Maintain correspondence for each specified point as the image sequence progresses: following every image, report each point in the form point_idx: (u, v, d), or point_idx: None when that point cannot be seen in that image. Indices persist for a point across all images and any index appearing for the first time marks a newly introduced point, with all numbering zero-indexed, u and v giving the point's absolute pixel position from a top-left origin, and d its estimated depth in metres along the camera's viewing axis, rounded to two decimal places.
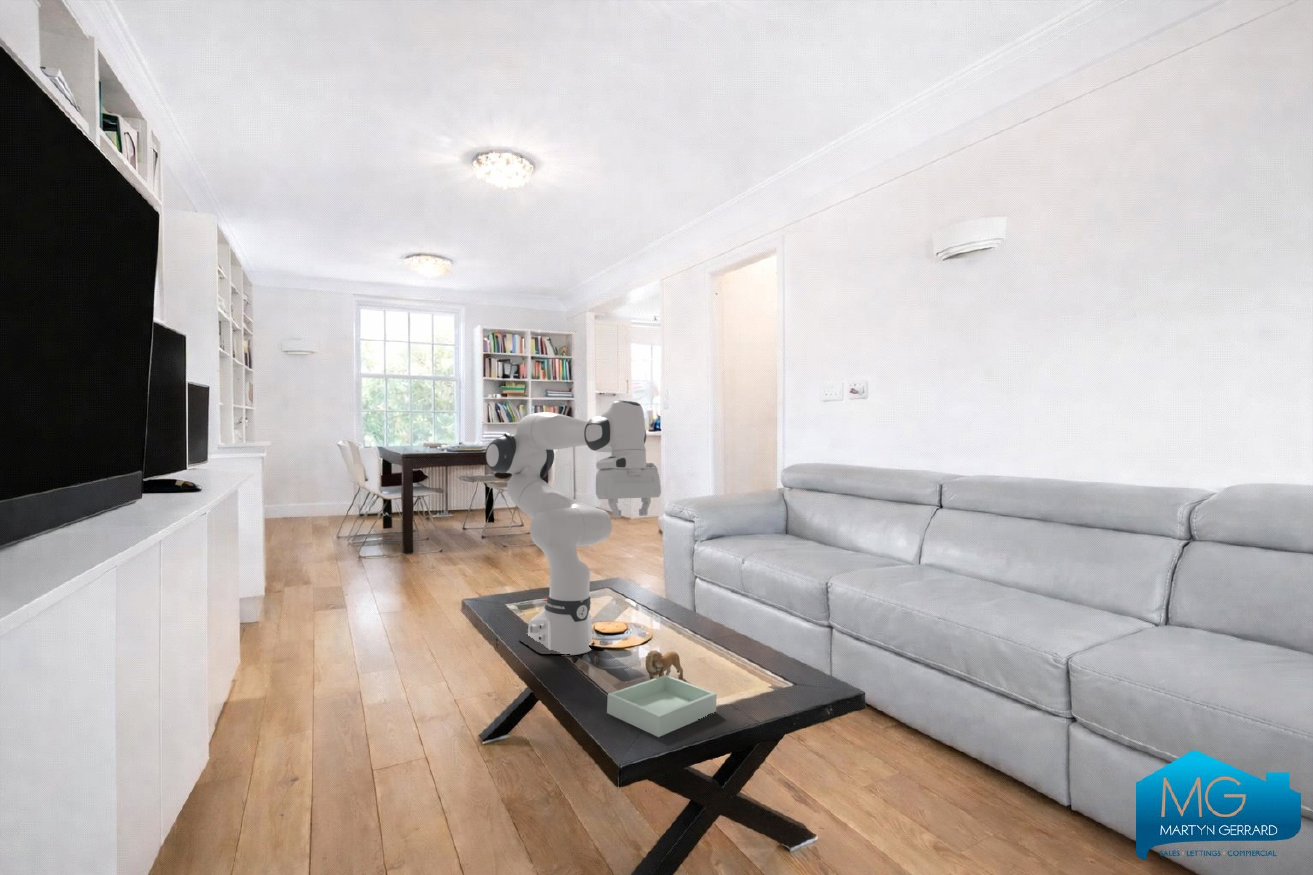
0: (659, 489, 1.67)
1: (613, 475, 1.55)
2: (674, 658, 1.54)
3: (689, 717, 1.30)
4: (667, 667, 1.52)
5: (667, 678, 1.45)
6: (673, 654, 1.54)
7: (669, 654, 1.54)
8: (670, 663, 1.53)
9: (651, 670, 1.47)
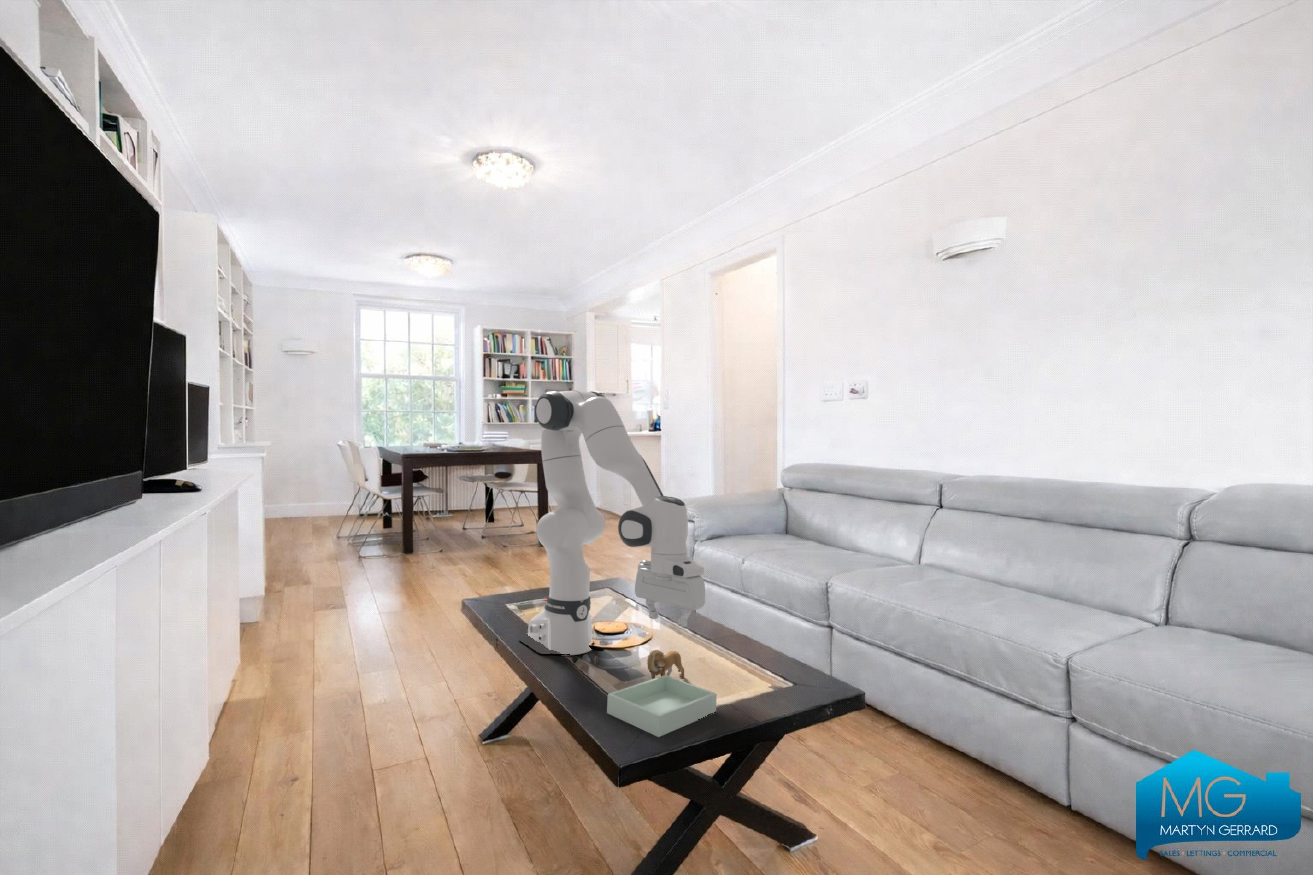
0: None
1: None
2: (676, 657, 1.54)
3: (689, 717, 1.30)
4: (669, 666, 1.53)
5: (667, 678, 1.45)
6: (674, 653, 1.55)
7: (670, 653, 1.55)
8: (672, 662, 1.53)
9: (653, 669, 1.47)
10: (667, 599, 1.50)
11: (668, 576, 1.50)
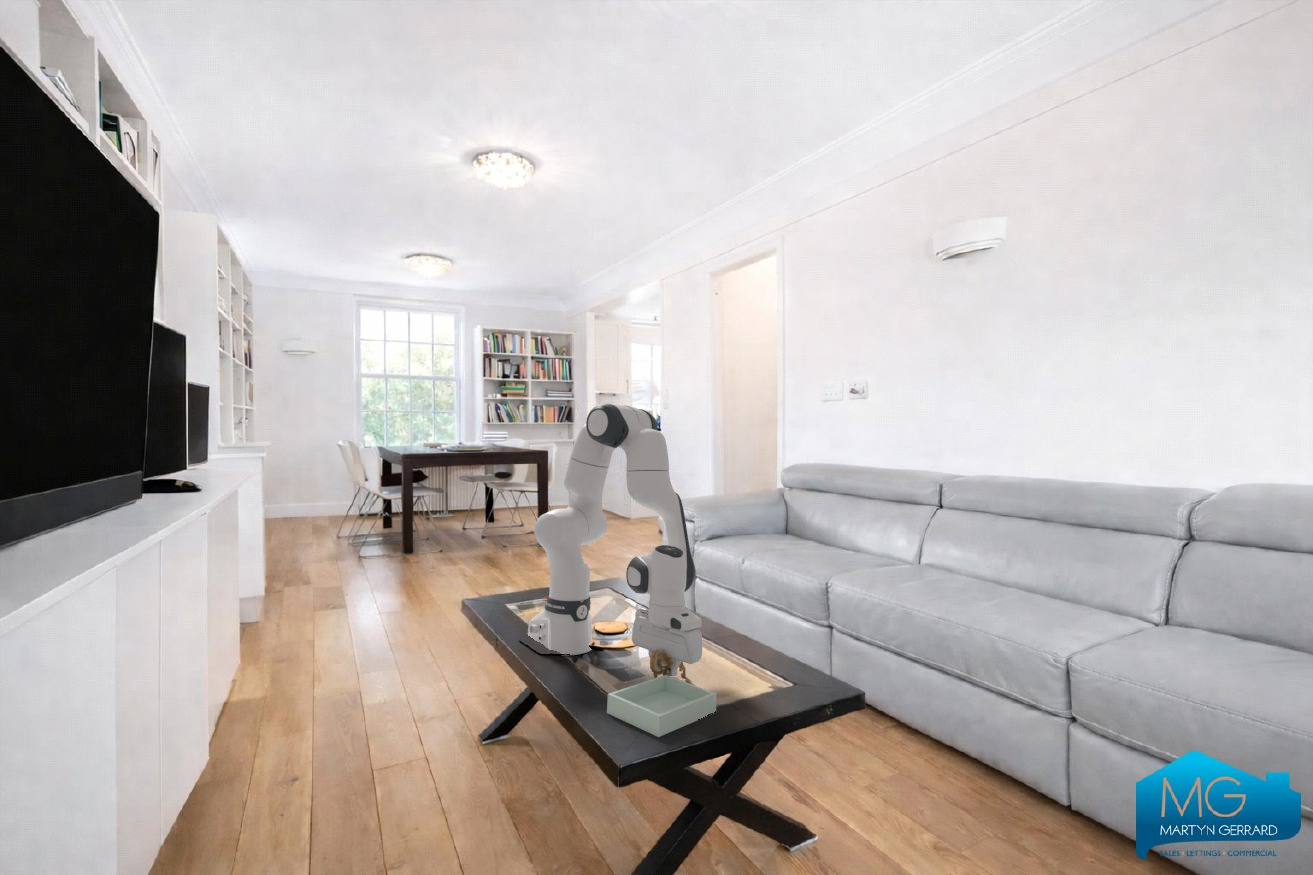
0: None
1: None
2: None
3: (689, 717, 1.30)
4: (671, 666, 1.53)
5: (667, 678, 1.45)
6: None
7: None
8: None
9: (656, 669, 1.48)
10: (664, 650, 1.50)
11: (665, 628, 1.49)
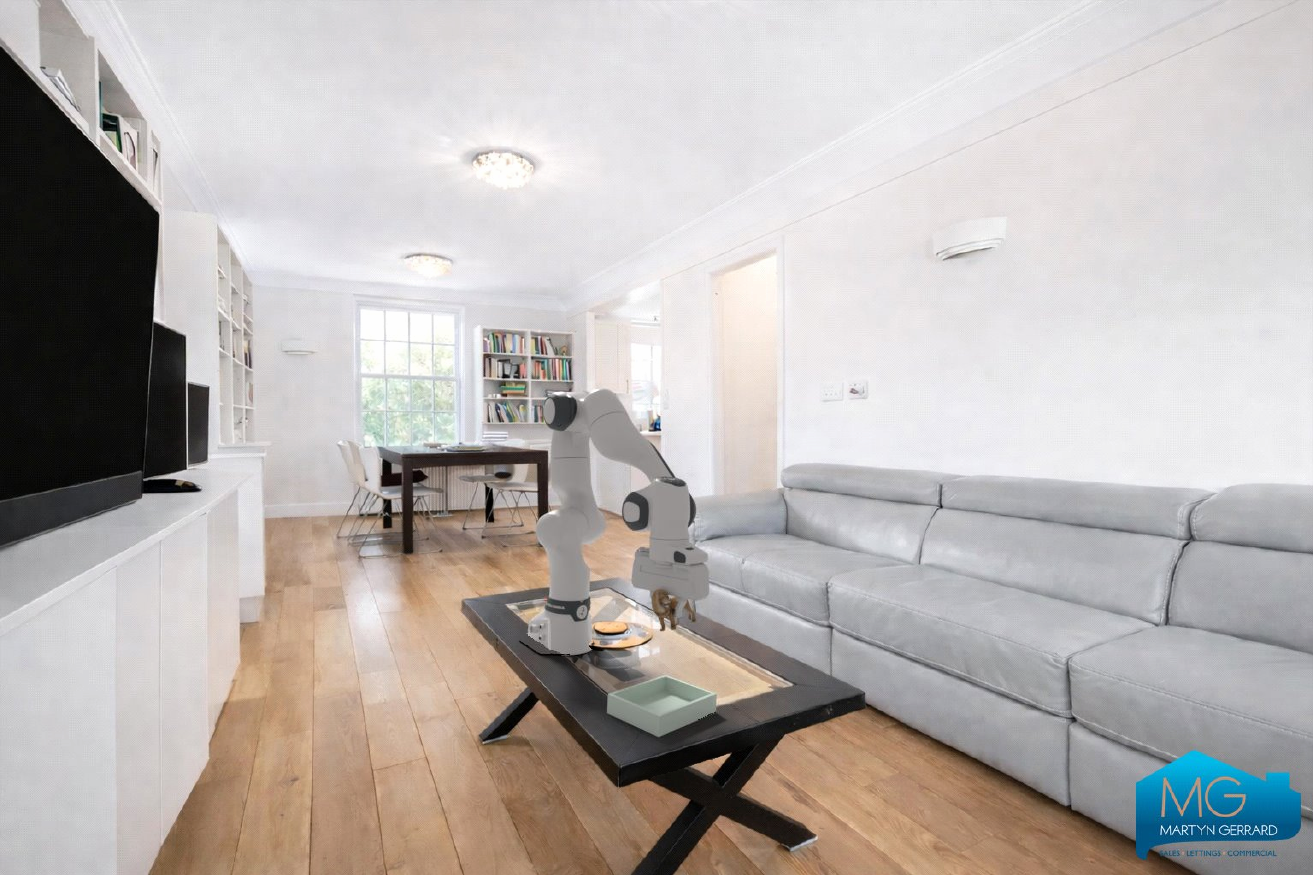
0: None
1: None
2: None
3: (689, 717, 1.30)
4: None
5: (667, 678, 1.45)
6: None
7: None
8: None
9: (659, 609, 1.34)
10: (667, 589, 1.37)
11: (668, 564, 1.36)
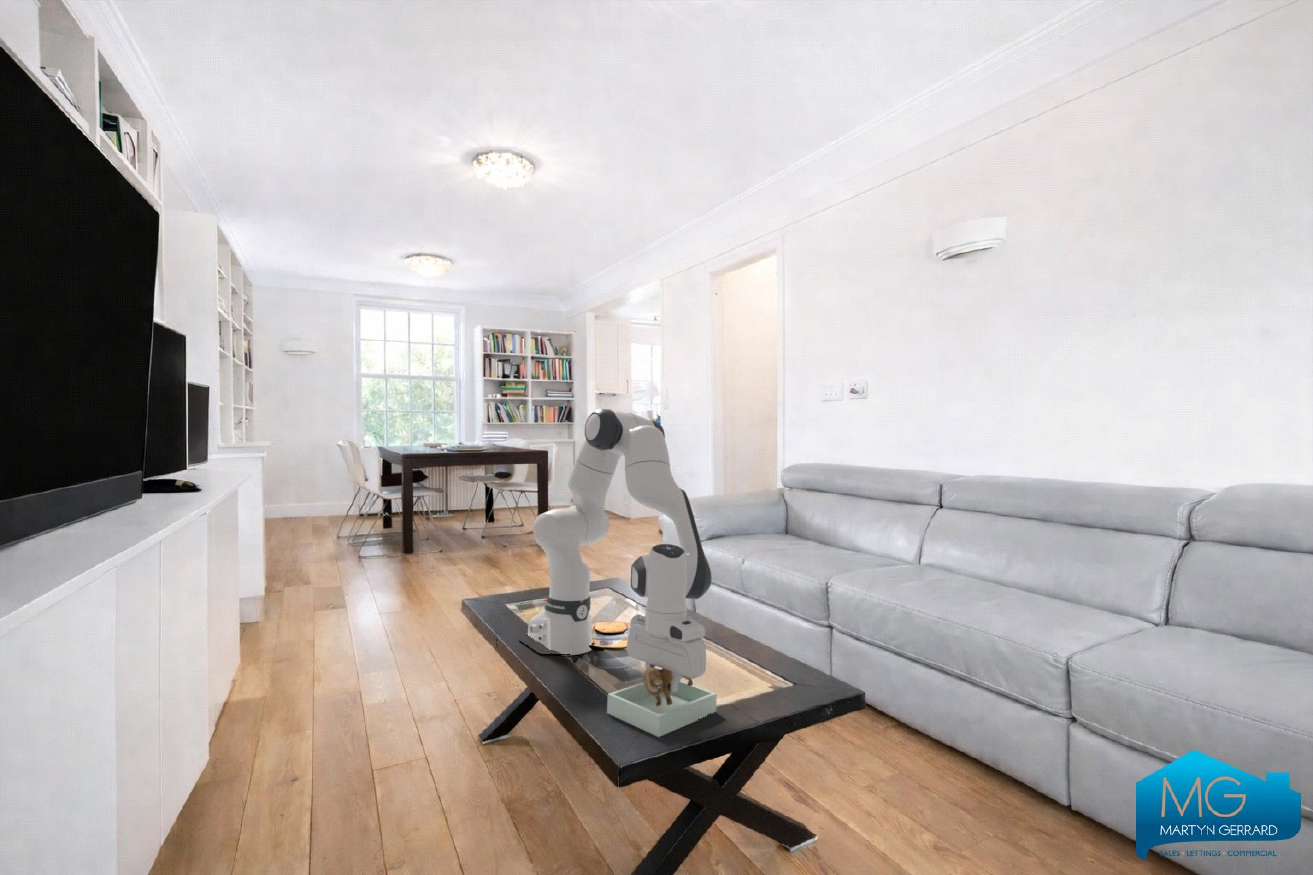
0: None
1: None
2: None
3: (689, 717, 1.30)
4: (670, 679, 1.35)
5: None
6: None
7: None
8: None
9: (652, 690, 1.30)
10: (663, 663, 1.33)
11: (664, 637, 1.32)
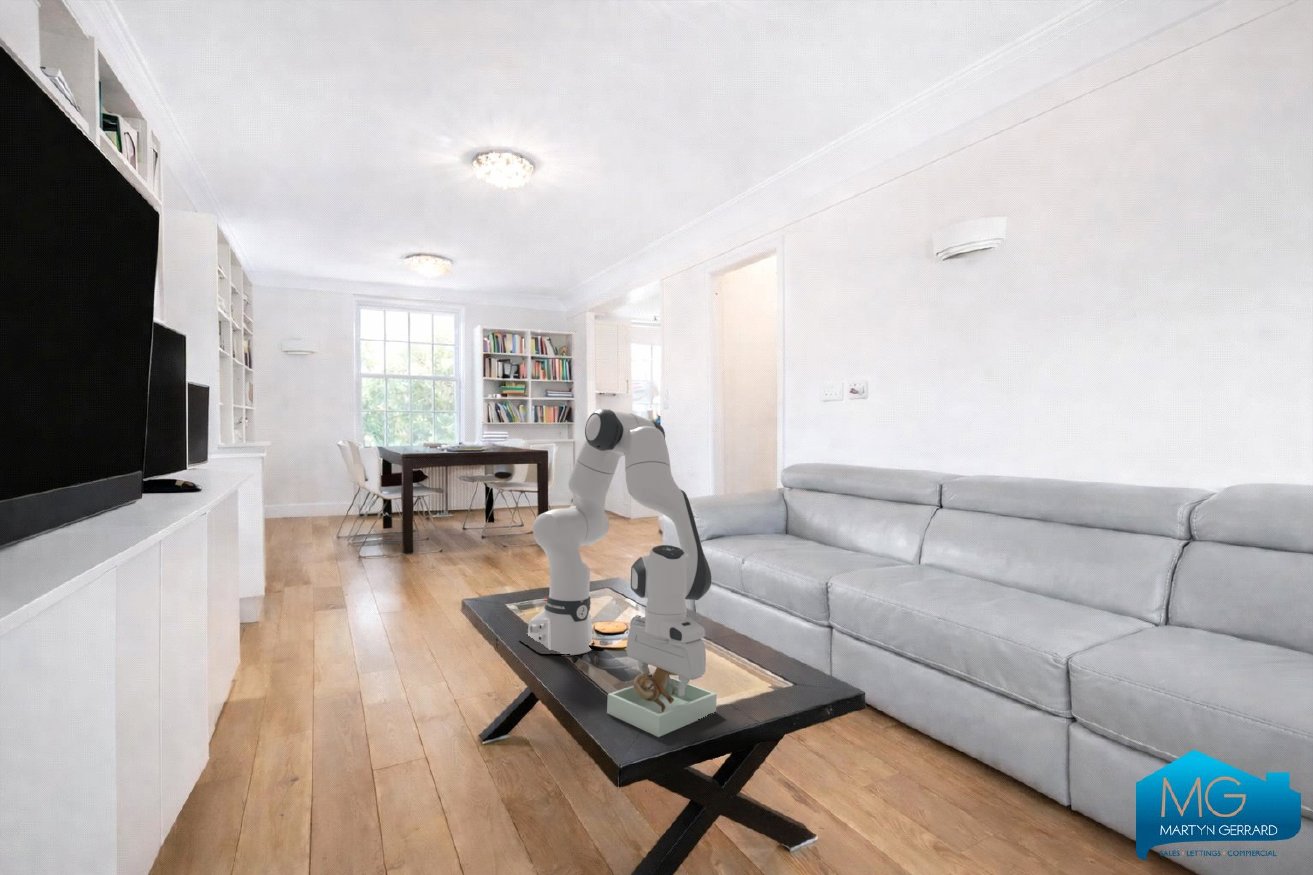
0: None
1: None
2: None
3: (689, 717, 1.30)
4: (663, 680, 1.36)
5: None
6: None
7: (656, 669, 1.38)
8: (663, 675, 1.37)
9: (648, 695, 1.30)
10: (662, 664, 1.33)
11: (664, 638, 1.32)
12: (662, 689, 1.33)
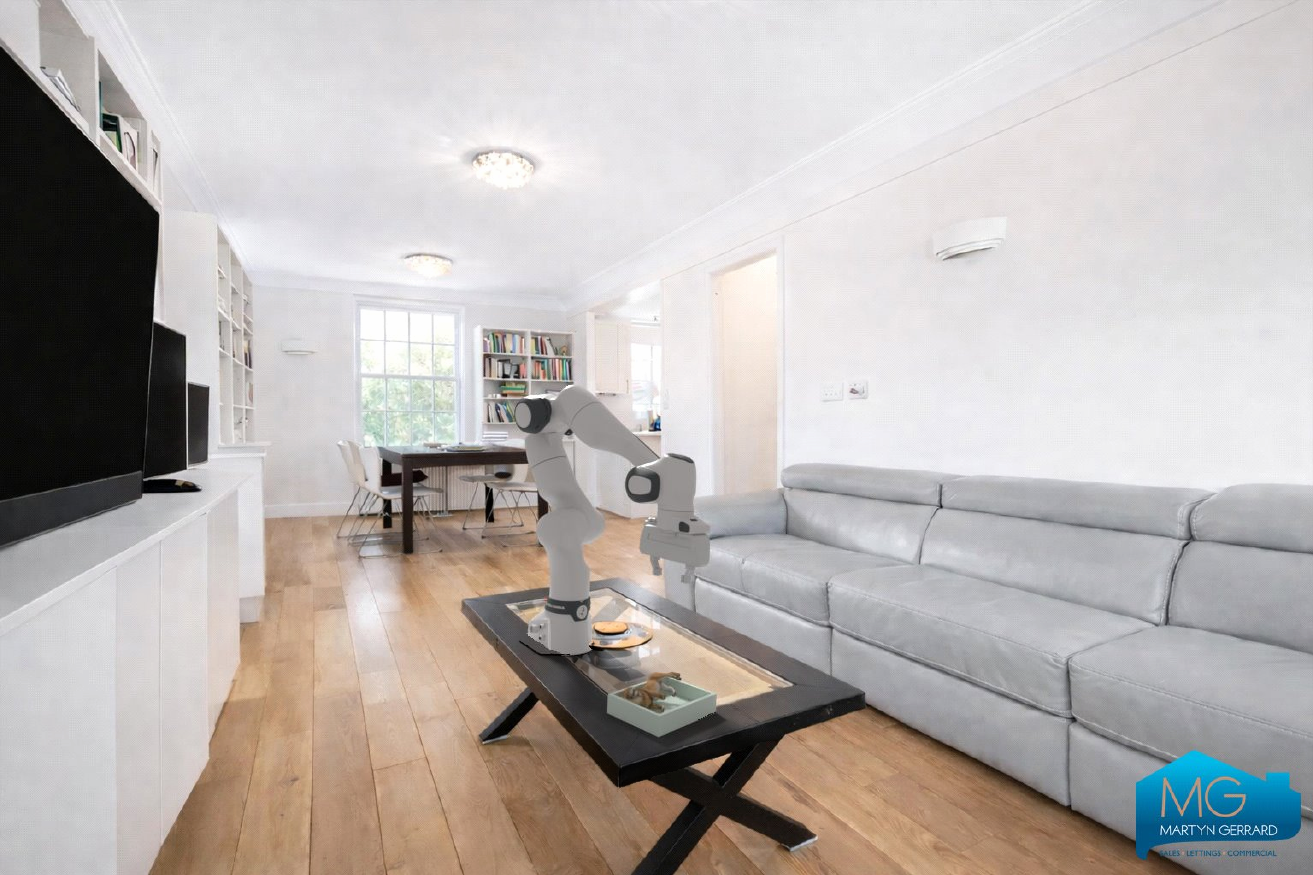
0: None
1: None
2: (651, 676, 1.40)
3: (689, 717, 1.30)
4: (653, 686, 1.37)
5: (667, 678, 1.45)
6: (648, 677, 1.40)
7: None
8: (653, 682, 1.38)
9: (636, 701, 1.32)
10: (671, 556, 1.50)
11: (674, 533, 1.49)
12: (651, 691, 1.34)
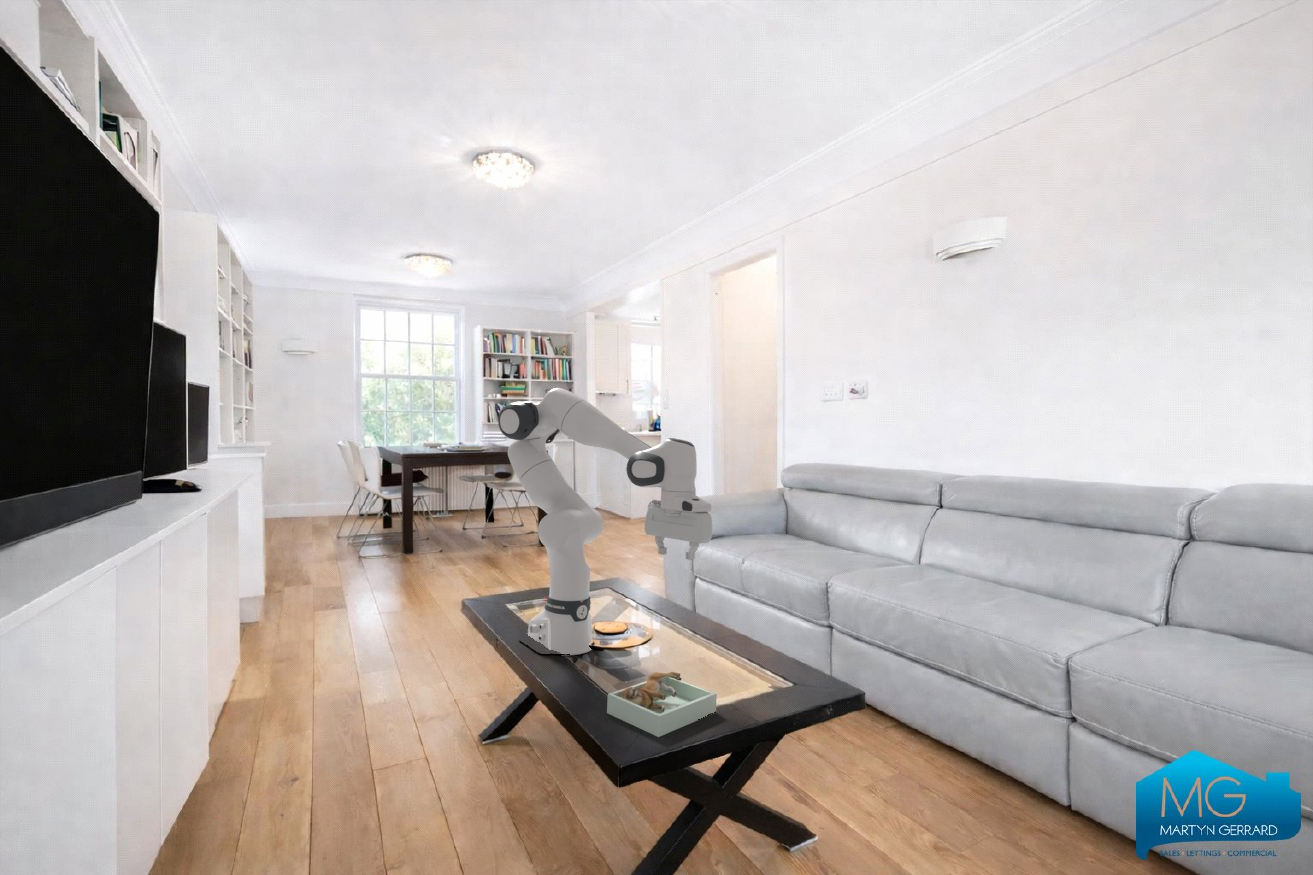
0: None
1: None
2: (651, 676, 1.40)
3: (689, 717, 1.30)
4: (653, 686, 1.37)
5: (667, 678, 1.45)
6: (648, 677, 1.40)
7: None
8: (653, 682, 1.38)
9: (636, 701, 1.32)
10: (676, 534, 1.59)
11: (677, 512, 1.58)
12: (651, 691, 1.34)
